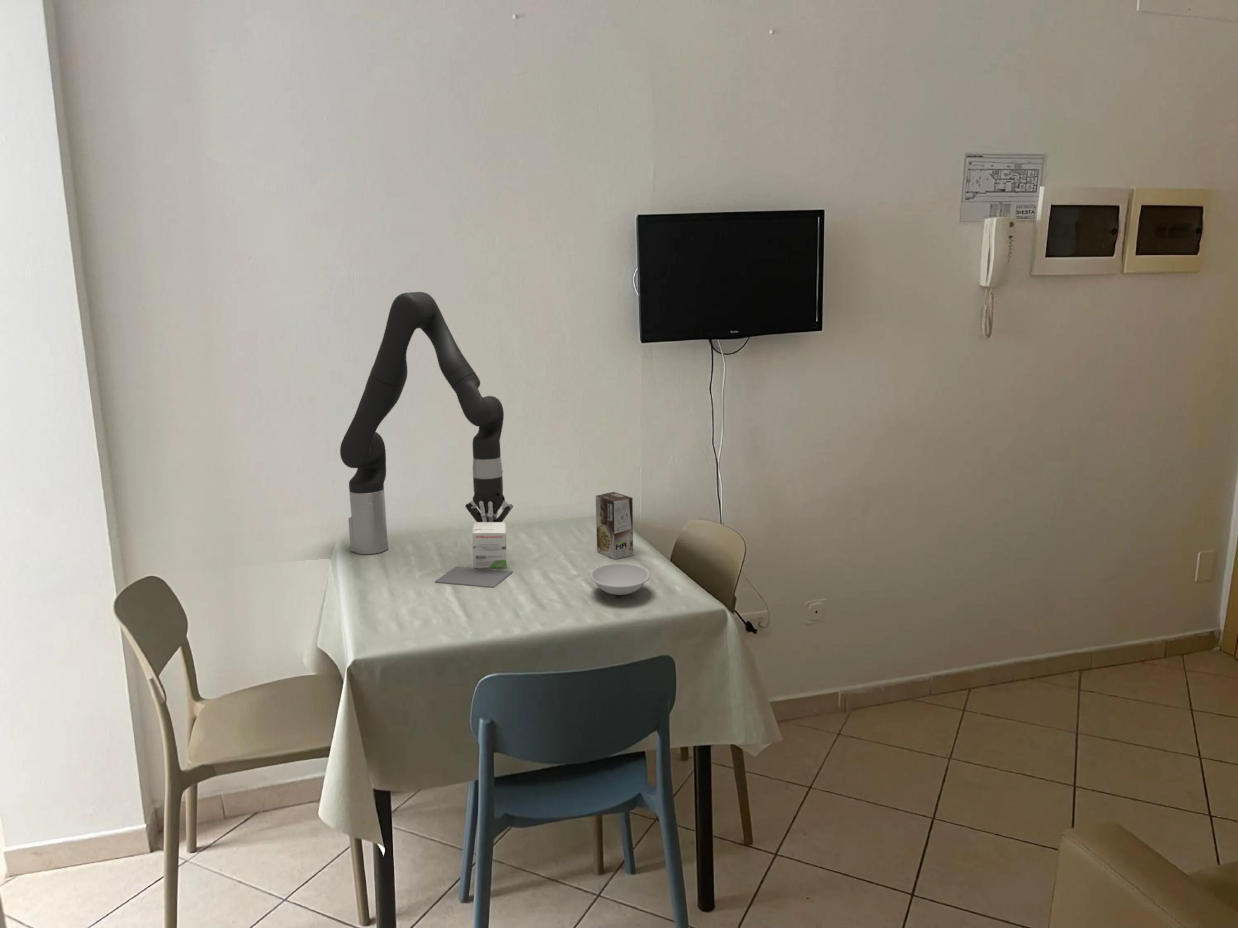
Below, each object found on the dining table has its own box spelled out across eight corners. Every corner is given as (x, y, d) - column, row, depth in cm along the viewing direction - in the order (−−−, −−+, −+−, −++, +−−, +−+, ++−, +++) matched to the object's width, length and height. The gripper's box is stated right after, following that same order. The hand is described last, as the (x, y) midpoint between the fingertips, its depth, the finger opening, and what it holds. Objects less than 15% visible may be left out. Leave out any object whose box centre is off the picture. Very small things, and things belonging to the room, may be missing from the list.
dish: (653, 606, 211) (653, 585, 210) (590, 608, 210) (590, 587, 209) (647, 580, 228) (646, 561, 227) (589, 582, 227) (588, 563, 226)
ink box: (506, 555, 243) (506, 520, 236) (506, 568, 239) (506, 533, 232) (473, 555, 242) (472, 520, 235) (472, 568, 238) (472, 533, 231)
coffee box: (634, 555, 248) (633, 497, 245) (614, 559, 245) (613, 501, 241) (615, 547, 256) (614, 491, 252) (595, 551, 252) (594, 494, 249)
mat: (434, 582, 229) (434, 581, 229) (455, 567, 240) (455, 566, 240) (493, 587, 224) (493, 586, 224) (512, 572, 236) (512, 571, 236)
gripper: (457, 476, 235) (461, 541, 239) (505, 478, 232) (508, 544, 235) (470, 470, 242) (473, 533, 246) (517, 472, 239) (519, 536, 242)
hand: (490, 538), depth 241 cm, fingers closed
